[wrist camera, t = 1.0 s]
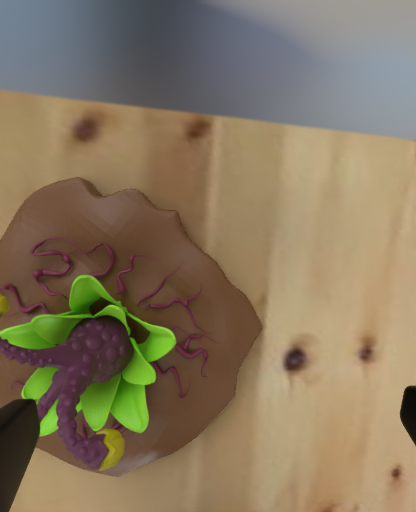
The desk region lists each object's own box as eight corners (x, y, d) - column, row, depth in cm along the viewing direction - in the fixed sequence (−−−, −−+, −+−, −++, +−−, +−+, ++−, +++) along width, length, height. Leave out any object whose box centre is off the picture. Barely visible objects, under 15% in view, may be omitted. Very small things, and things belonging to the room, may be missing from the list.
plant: (143, 488, 24) (102, 726, 12) (-72, 359, 21) (-362, 512, 10) (293, 301, 22) (395, 379, 11) (85, 140, 20) (-45, 40, 9)
